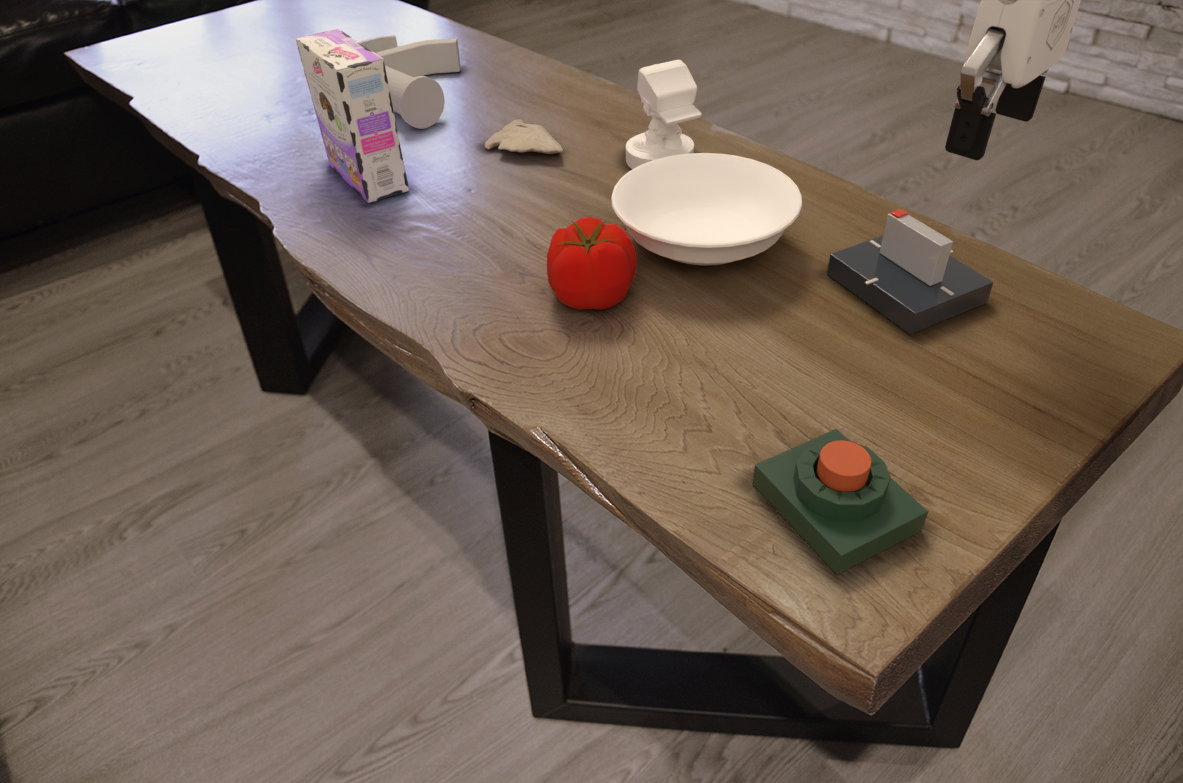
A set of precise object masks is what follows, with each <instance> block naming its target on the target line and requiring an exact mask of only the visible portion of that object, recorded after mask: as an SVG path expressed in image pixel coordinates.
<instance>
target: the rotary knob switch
mask: <svg viewBox="0 0 1183 783" xmlns="http://www.w3.org/2000/svg"><path fill="white" fill-rule="evenodd" d="M882 239H883V234H882V235H880V236H876V237H874V238H871V239H868V240H866V241H863V242H860V243H858V244H855V245H851V246H849V247H847V248H843V249H841V250H837V251H835V252H832V253H830V254H829V259H828V266H827V272H826V275H827V276H829V277H830V278H831V279H833V280H834V281H835V282H837V283H838V284H840V285H841V286H842V287H844V288H845V289H846V290H848V291H849V292H851V293H852V294H854V296H856V297H858V298H859V299H861V301H862V302H864V303H866V304H867V305H869V306H870V307H871V308H873V309H874V310H875V311H877V312H878V313H879V314H881V315H882V316H884V317H885V318H887V319H888V320H889V321H890V322H892V323H894V324H895V325H896V326H898V327H899V328H900V329H901V330H903V331H904V332H905V333H907V334H909V335H913V334H915V333H918V332H920V331H922V330H925V329H927V328H929V327H932V326H935V325H937V324H939V323H943V322H944V321H947V320H949V319H952V318H954V317H956V316H958V315H962V314H964V313H966V312H968V311H970V310H974V309H975V308H978V307H981V306H983V305H986V304H987V303H988V300H989V298H990V294H991V292H992V288H993V285H994V281H993V280H991V279H989V278H988V277H987V276H984V275H983V274H981V273H980V272H978V271H976V270H975V269H973V268H972V267H970V266H968V265H966V264H965V263H963V262H962V261H960V260H958V259H956V258H955V257H953V256H952V255H951V254H952V253H954V250H953V249H951V252H950V255H949V259H948V262H947V266H946V269H945V273H944V276H943V280H942V282H939V283H937V284H934V285H932V286H929V285H927V284H926V283H924V282H923V281H921V280H920V279H918V278H917V277H915V276H914V275H912V274H911V273H909V272H908V271H906V270H905V269H903V268H902V267H900V266H899V265H897V264H896V263H894V262H893V261H891V260H890V259H888V258H886V257H885V256H883V255H882V254H880V248H881V243H882Z"/></svg>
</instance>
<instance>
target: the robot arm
mask: <svg viewBox="0 0 1183 783" xmlns="http://www.w3.org/2000/svg"><path fill="white" fill-rule="evenodd" d="M1081 1H1082V0H980V2H979V5H978V9H977V11H976V15H975V18H974V21H973V26H972V30H971V33H970V37H969V41H968V45H967V50H966V54H965V59H964V64H963V65H962V67H961V69H960V72H959V85H958V87H957V88H956V98H955V101H954V111H953V115H952V119H951V122H950V126H949V130H948V134H947V137H946V141H945V146H944V149H945V151H946V152H947V153H950V154H953V155H956V156H960V157H964V158H967V159H970V160H973V161H980V160H981V159H983V158H984V156H985V153H986V150H987V147H988V143H989V140H990V137H991V134H992V130H993V126H994V123H995V120H996V117H997V115H1000V116H1003V117H1005V118H1009V119H1014V120H1017V121H1020V122H1021V121H1022V122H1025V123H1026V122H1027V123H1028V122H1030V121H1031V120H1032V119H1033V118H1034V114H1035V112H1036V108H1037V105H1038V102H1039V100H1040V97H1041V93H1042V90H1043V88H1044V84H1045V81H1046V78H1047V76H1045V75H1046V74H1047V73H1048V71H1049V69H1050V68H1052V67H1053V66H1055V65H1056V64H1057V63H1058V62H1060V60H1061V59H1062V58H1063V57H1064V55H1065V54H1066V51H1067V49H1068V46H1069V44H1070V40H1071V37H1072V34H1073V33H1072V32H1073V29H1074V26H1075V22H1076V18H1077V15H1078V12H1079V8H1080V5H1081ZM987 69H992V70H995V71H1000V72H1001V73H999V72H994V71H990V70H987ZM982 83H983V84H987V85H990V86H992V87H991V88H990V91H989V93H988V94H986V89H985V87H984V86H981V84H982ZM994 108H995V112H993V110H994Z"/></svg>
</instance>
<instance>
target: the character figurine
mask: <svg viewBox="0 0 1183 783" xmlns="http://www.w3.org/2000/svg"><path fill="white" fill-rule="evenodd" d="M636 86H637V88H636V89H637V92H638V94H639V97H640V101H641V104H643V106H642V107H643V108H642V109H643V112H644V113H645V114H646V115H647V117H651V119H650V122H649V124H648V126H647V128H648V129H647V130H646V131H644V132H641V133H639V134H636V135H634V136H632V137H630V138H629V139H628V140H627V141H626V144H625V164H626V165H627V166H628V167H629V169H631V170H633V169H634V168H636V167H638V166H640V165H642V164H645V163H647V162H650V161H653V160H656V159H660V158H664V157H668V156H674V155H681V154H692V153H695V143H694V140H693V139H692V138H691V137H690V136H689V135H687V134H684V133H682V132H683V131H682V128H681V127H680V125H679V124H680V123H685V122H688V121H693V120H696V119H700V118H702V115H703V114H702V112H701V111H700V110H699V108H697V107H696V106H695V105H694V103H695V101H696V96H697V92H698V85H697V83H696V82H695V79H694V78H693V75H692V73H691V72H690V70H689V68H688V66H687V64H686V63H684V62H683V60H681V59H674V60H669V61H666V62H662V63H661V62H660V63H654V64H652V65H648V66H642V67H641V68H639V70H638V74H637V84H636Z"/></svg>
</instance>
